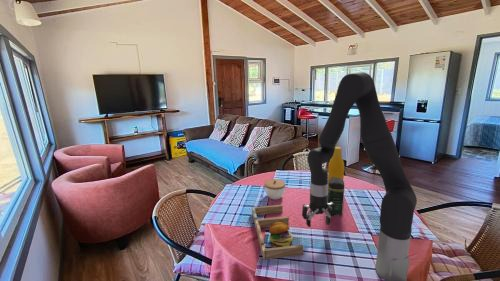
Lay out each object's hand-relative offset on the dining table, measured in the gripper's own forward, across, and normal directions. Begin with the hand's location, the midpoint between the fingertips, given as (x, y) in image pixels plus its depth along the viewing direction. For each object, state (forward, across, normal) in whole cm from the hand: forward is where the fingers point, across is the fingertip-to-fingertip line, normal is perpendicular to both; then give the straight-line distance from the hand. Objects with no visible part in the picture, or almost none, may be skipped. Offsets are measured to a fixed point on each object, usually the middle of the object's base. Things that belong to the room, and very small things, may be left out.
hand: (318, 225), depth 106 cm
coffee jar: (+6, +17, +19) cm, 27 cm away
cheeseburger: (+6, -18, -1) cm, 19 cm away
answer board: (+6, -18, +6) cm, 20 cm away
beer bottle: (+6, +28, +41) cm, 51 cm away
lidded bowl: (+6, -11, +41) cm, 43 cm away
